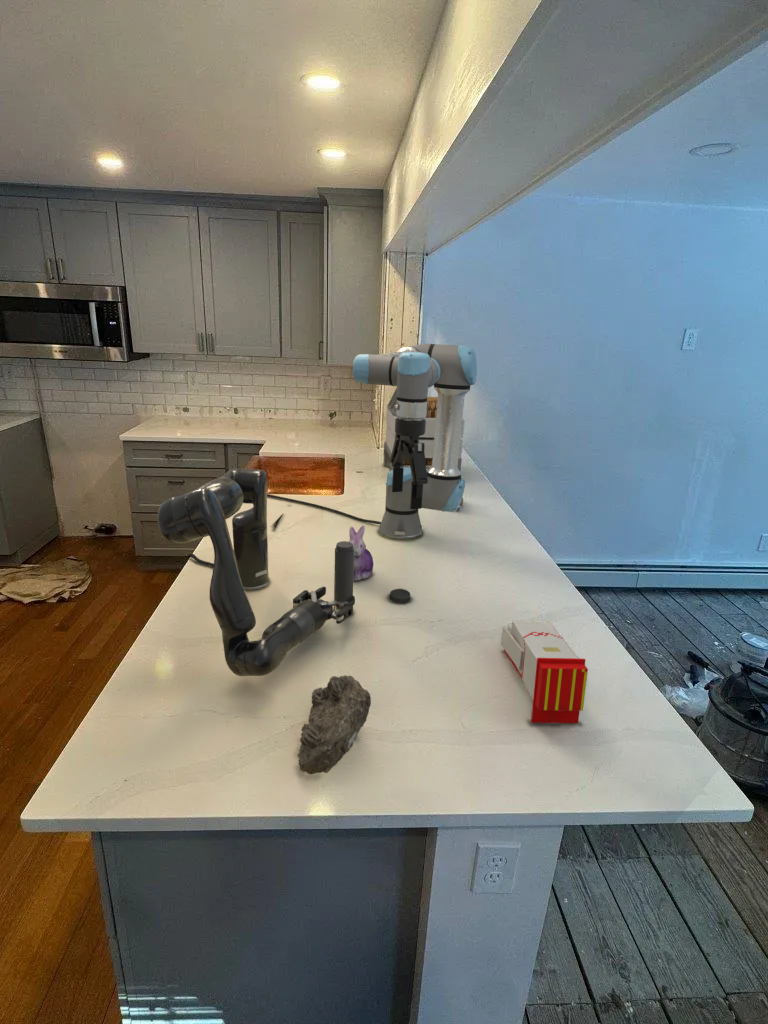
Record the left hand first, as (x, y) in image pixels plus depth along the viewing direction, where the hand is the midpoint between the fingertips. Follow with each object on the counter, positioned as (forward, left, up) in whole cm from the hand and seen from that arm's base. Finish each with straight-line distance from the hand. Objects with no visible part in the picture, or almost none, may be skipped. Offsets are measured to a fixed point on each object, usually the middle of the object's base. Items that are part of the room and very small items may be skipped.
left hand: (338, 594), depth 143 cm
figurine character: (-8, +99, -6) cm, 99 cm away
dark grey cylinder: (0, +2, -6) cm, 7 cm away
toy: (+51, 0, -6) cm, 51 cm away
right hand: (+9, +18, +22) cm, 30 cm away
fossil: (+23, -36, -6) cm, 43 cm away
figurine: (-8, +24, -6) cm, 26 cm away
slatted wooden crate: (-40, +135, -6) cm, 141 cm away
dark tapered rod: (-56, +49, -6) cm, 74 cm away
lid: (+9, +17, -5) cm, 20 cm away
